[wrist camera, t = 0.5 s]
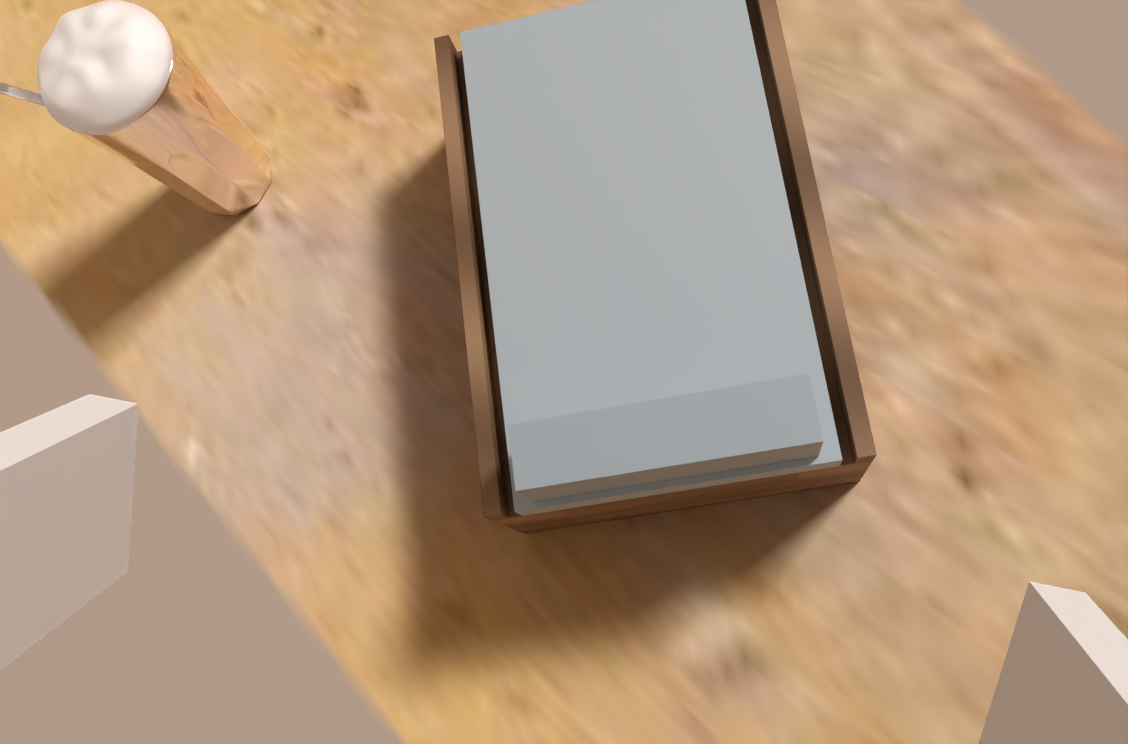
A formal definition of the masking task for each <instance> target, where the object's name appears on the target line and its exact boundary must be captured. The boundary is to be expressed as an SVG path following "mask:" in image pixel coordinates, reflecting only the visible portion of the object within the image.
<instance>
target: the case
mask: <svg viewBox="0 0 1128 744" xmlns="http://www.w3.org/2000/svg"><path fill="white" fill-rule="evenodd" d="M745 2H746V6H747V11H748V16H749V20H750V25H751V30H752V35H753V39H754V44H755V49H756V54H757V58H758V63H759V68H760V72H761V77H762V82H763V87H764V91H765V96H766V101H767V106H768V110H769V115H770V120H771V124H772V129H773V134H774V139H775V143H776V148H777V153H778V157H779V162H780V167H781V172H782V176H783V181H784V186H785V191H786V195H787V200H788V205H789V209H790V214H791V219H792V224H793V228H794V233H795V238H796V243H797V247H798V252H799V257H800V261H801V266H802V271H803V276H804V280H805V285H806V290H807V294H808V299H809V304H810V309H811V313H812V318H813V323H814V328H815V332H816V337H817V342H818V346H819V351H820V356H821V361H822V365H823V370H824V375H825V380H826V384H827V389H828V394H829V398H830V403H831V408H832V413H833V417H834V422H835V427H836V431H837V436H838V441H839V446H840V450H841V455H842V462H841V464H840V466H836V467H830V468H824V469H817V470H811V471H805V472H798V473H792V474H786V475H779V476H773V477H766V478H760V479H754V480H747V481H741V482H735V483H728V484H722V485H716V486H709V487H703V488H696V489H690V490H684V491H677V492H671V493H665V494H658V495H652V496H646V497H639V498H633V499H626V500H620V501H614V502H607V503H601V504H595V505H588V506H582V507H576V508H569V509H563V510H556V511H550V512H544V513H537V514H531V515H525V516H522V515H520V514H518V513H516V512H514V503H513V495H512V486H511V477H510V468H509V459H508V451H507V442H506V433H505V424H504V415H503V406H502V398H501V389H500V380H499V371H498V362H497V354H496V345H495V336H494V327H493V318H492V310H491V301H490V292H489V283H488V274H487V266H486V257H485V248H484V239H483V230H482V222H481V213H480V204H479V195H478V186H477V178H476V169H475V160H474V151H473V142H472V134H471V125H470V116H469V107H468V98H467V90H466V81H465V72H464V63H463V54H462V51H460V52H457V50H456V48H455V47H454V45H453V43H452V41H451V39H450V37H449V35H446V36H442V37H438V38H434V42H435V52H436V62H437V71H438V81H439V90H440V100H441V109H442V119H443V128H444V138H445V148H446V157H447V167H448V176H449V186H450V195H451V205H452V214H453V224H454V234H455V243H456V253H457V262H458V272H459V281H460V291H461V300H462V310H463V320H464V329H465V339H466V348H467V358H468V367H469V377H470V386H471V396H472V406H473V415H474V425H475V434H476V444H477V453H478V463H479V472H480V482H481V492H482V501H483V511H484V517H486V518H489V519H491V520H493V521H496V522H498V523H501V524H503V525H505V526H508V527H510V528H513V529H515V530H518V531H520V532H522V533H530V532H537V531H543V530H550V529H556V528H563V527H569V526H576V525H582V524H589V523H595V522H602V521H608V520H615V519H621V518H628V517H634V516H640V515H647V514H653V513H660V512H666V511H673V510H679V509H686V508H692V507H699V506H705V505H712V504H718V503H725V502H731V501H738V500H744V499H751V498H757V497H764V496H770V495H777V494H783V493H790V492H796V491H803V490H809V489H816V488H822V487H828V486H835V485H841V484H848V483H854V482H859V481H860V479H861V478H862V476H863V475H864V473H865V472H866V470H867V469H868V467H869V466H870V464H871V462H872V461H873V459H874V458H875V456H876V450H875V446H874V441H873V437H872V432H871V428H870V423H869V419H868V414H867V410H866V405H865V401H864V396H863V392H862V387H861V383H860V378H859V374H858V369H857V365H856V360H855V356H854V351H853V347H852V342H851V338H850V333H849V329H848V324H847V320H846V315H845V310H844V306H843V301H842V297H841V292H840V288H839V283H838V279H837V274H836V270H835V265H834V261H833V256H832V252H831V247H830V243H829V238H828V234H827V229H826V225H825V220H824V216H823V211H822V207H821V202H820V198H819V193H818V189H817V184H816V180H815V175H814V171H813V166H812V162H811V157H810V153H809V148H808V144H807V139H806V135H805V130H804V126H803V121H802V117H801V112H800V108H799V103H798V99H797V94H796V90H795V85H794V81H793V76H792V72H791V67H790V63H789V58H788V54H787V49H786V45H785V40H784V36H783V31H782V27H781V22H780V18H779V13H778V9H777V4H776V0H745Z"/></svg>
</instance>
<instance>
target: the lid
mask: <svg viewBox="0 0 1128 744" xmlns="http://www.w3.org/2000/svg"><path fill="white" fill-rule="evenodd" d="M460 37H461V46H462V54H463V63H464V72H465V81H466V90H467V98H468V107H469V116H470V125H471V134H472V142H473V151H474V160H475V169H476V178H477V186H478V195H479V204H480V213H481V222H482V230H483V239H484V248H485V257H486V266H487V274H488V283H489V292H490V301H491V310H492V318H493V327H494V336H495V345H496V354H497V362H498V371H499V380H500V389H501V398H502V406H503V415H504V424H505V433H506V442H507V451H508V459H509V468H510V477H511V486H512V495H513V503H514V512H516V513H518V514H520V515H522V516H525V515H531V514H537V513H544V512H550V511H556V510H563V509H569V508H576V507H582V506H588V505H595V504H601V503H607V502H614V501H620V500H626V499H633V498H639V497H646V496H652V495H658V494H665V493H671V492H677V491H684V490H690V489H696V488H703V487H709V486H716V485H722V484H728V483H735V482H741V481H747V480H754V479H760V478H766V477H773V476H779V475H786V474H792V473H798V472H805V471H811V470H817V469H824V468H830V467H836V466H840V464H841V462H842V455H841V450H840V446H839V441H838V436H837V431H836V427H835V422H834V417H833V413H832V408H831V403H830V398H829V394H828V389H827V384H826V380H825V375H824V370H823V365H822V361H821V356H820V351H819V346H818V342H817V337H816V332H815V328H814V323H813V318H812V313H811V309H810V304H809V299H808V294H807V290H806V285H805V280H804V276H803V271H802V266H801V261H800V257H799V252H798V247H797V243H796V238H795V233H794V228H793V224H792V219H791V214H790V209H789V205H788V200H787V195H786V191H785V186H784V181H783V176H782V172H781V167H780V162H779V157H778V153H777V148H776V143H775V139H774V134H773V129H772V124H771V120H770V115H769V110H768V106H767V101H766V96H765V91H764V87H763V82H762V77H761V72H760V68H759V63H758V58H757V54H756V49H755V44H754V39H753V35H752V30H751V25H750V20H749V16H748V11H747V6H746V2H745V0H594V1H590V2H586V3H581V4H577V5H573V6H569V7H564V8H560V9H556V10H552V11H548V12H543V13H539V14H535V15H531V16H527V17H522V18H518V19H514V20H510V21H505V22H501V23H497V24H493V25H489V26H484V27H480V28H476V29H472V30H467V31H463V32H460Z"/></svg>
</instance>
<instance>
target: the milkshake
mask: <svg viewBox="0 0 1128 744" xmlns="http://www.w3.org/2000/svg"><path fill="white" fill-rule="evenodd" d="M38 84H39V90H40V94H38V93H35V92H31V91H28V90H25V89H21V88H18V87H14V86H11V85H7V84H4V83H1V82H0V93H1V94H5V95H8V96H12V97H15V98H19V99H22V100H26V101H29V102H33V103H36V104H40V105H43V106H45V107H46V109H47V110H48V112H49V113H50V115H51V116H52V117H53V118H54V119H55V120H56V121H57V122H58V123H60V124H61V125H63V126H64V127H66V128H68V129H70V130H72V131H74V132H75V133H77V134H79V135H81V136H83V137H84V138H86V139H88V140H90V141H91V142H93V143H95V144H97V145H99V146H100V147H102V148H104V149H106V150H108V151H109V152H111V153H113V154H115V155H116V156H118V157H120V158H122V159H123V160H125V161H127V162H129V163H130V164H132V165H133V166H135V167H137V168H138V169H140V170H142V171H143V172H145V173H146V174H148V175H150V176H151V177H153V178H155V179H156V180H158V181H160V182H161V183H163V184H165V185H166V186H168V187H169V188H171V189H173V190H174V191H176V192H178V193H179V194H181V195H183V196H184V197H186V198H188V199H189V200H191V201H192V202H194V203H196V204H197V205H199V206H201V207H202V208H204V209H206V210H207V211H209V212H211V213H215V214H226V215H237V214H239V213H241V212H243V211H245V210H246V209H248V208H250V207H252V206H254V205H256V204H258V202H259V201H260V199H261V197H262V196H263V194H264V192H265V191H266V189H267V187H268V186H269V184H270V182H271V172H270V158H269V156H268V155H267V154H266V153H265V151H264V150H263V149H262V148H261V147H260V145H259V144H258V143H257V142H256V141H255V139H254V138H253V137H252V136H251V135H250V133H249V132H248V131H247V130H246V129H245V128H244V126H243V125H242V124H241V123H240V122H239V120H238V119H237V118H236V117H235V116H234V114H233V113H232V112H231V111H230V110H229V108H228V107H227V106H226V105H225V104H224V103H223V101H222V100H221V99H220V98H219V96H218V95H217V94H216V93H215V92H214V90H213V89H212V88H211V87H210V85H209V84H208V83H207V81H206V80H205V79H204V77H203V76H202V75H201V73H200V72H199V71H198V69H197V68H196V67H195V65H194V64H193V63H192V61H191V60H190V59H189V57H188V56H187V55H186V54H185V52H184V51H183V50H182V48H181V47H180V46H179V45H178V43H177V42H176V41H175V39H174V38H173V37H172V35H171V34H170V33H169V32H168V30H167V29H166V28H165V27H164V25H163V24H162V23H161V22H160V20H159V19H158V18H157V17H155V16H154V15H153V14H152V13H150V12H149V11H147V10H146V9H144V8H142V7H139V6H137V5H135V4H132V3H129V2H125V1H119V0H107V1H102V2H98V3H95V4H92V5H89V6H86V7H82V8H79V9H75V10H72V11H69V12H67V13H65V14H64V15H63V16H62V17H61V18H60V19H59V21H58V23H57V25H56V27H55V29H54V32H53V34H52V36H51V37H50V39H49V40H48V42H47V43H46V44H45V46H44V48H43V49H42V52H41V54H40V58H39V64H38Z"/></svg>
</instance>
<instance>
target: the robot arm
mask: <svg viewBox="0 0 1128 744" xmlns="http://www.w3.org/2000/svg"><path fill="white" fill-rule="evenodd" d="M137 415H138V404H137V403H132V402H127V401H122V400H117V399H112V398H107V397H102V396H97V395H92V394H89V395H86V396H84V397H82V398H79V399H77V400H75V401H72V402H70V403H68V404H65V405H63V406H61V407H58V408H56V409H54V410H51V411H49V412H47V413H44V414H42V415H40V416H37V417H35V418H33V419H30V420H28V421H26V422H23V423H21V424H19V425H16V426H14V427H12V428H9V429H7V430H5V431H2V432H0V671H1V670H2V669H3V668H4V667H6V666H7V665H8V664H9V663H11V662H12V661H13V660H15V659H16V658H17V657H18V656H20V655H21V654H22V653H24V652H25V651H26V650H27V649H29V648H30V647H31V646H33V645H34V644H35V643H36V642H38V641H39V640H40V639H42V638H43V637H44V636H45V635H47V634H48V633H49V632H51V631H52V630H53V629H54V628H56V627H57V626H58V625H59V624H61V623H62V622H63V621H65V620H66V619H67V618H68V617H69V616H71V615H72V614H74V613H75V612H76V611H77V610H79V609H80V608H81V607H82V606H84V605H85V604H86V603H88V602H89V601H90V600H91V599H93V598H94V597H95V596H96V595H98V594H99V593H100V592H102V591H103V590H104V589H105V588H107V587H108V586H109V585H111V584H112V583H113V582H114V581H116V580H117V579H118V578H120V577H121V576H122V575H123V574H125V573H126V572H127V571H128V562H129V545H130V530H131V513H132V496H133V479H134V464H135V448H136V447H135V446H136V431H137ZM979 744H1128V639H1127V638H1126V637H1125V636H1124V635H1123V634H1122V633H1121V632H1120V631H1119V629H1118V628H1117V627H1116V626H1115V625H1114V624H1113V623H1112V622H1111V621H1110V619H1109V618H1108V617H1107V616H1106V615H1105V614H1104V613H1103V612H1102V611H1101V610H1100V608H1099V607H1098V606H1097V605H1096V604H1095V603H1094V602H1093V601H1092V600H1091V598H1090V597H1089V596H1088V595H1087V594H1086V593H1085V592H1080V591H1075V590H1070V589H1065V588H1060V587H1055V586H1050V585H1045V584H1040V583H1035V582H1030V581H1029V584H1028V588H1027V591H1026V594H1025V597H1024V600H1023V604H1022V607H1021V610H1020V613H1019V616H1018V620H1017V623H1016V626H1015V629H1014V632H1013V636H1012V639H1011V642H1010V645H1009V648H1008V652H1007V655H1006V658H1005V661H1004V664H1003V668H1002V671H1001V674H1000V677H999V680H998V684H997V687H996V690H995V693H994V696H993V700H992V703H991V706H990V709H989V712H988V716H987V719H986V722H985V725H984V728H983V732H982V735H981V738H980V741H979Z"/></svg>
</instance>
